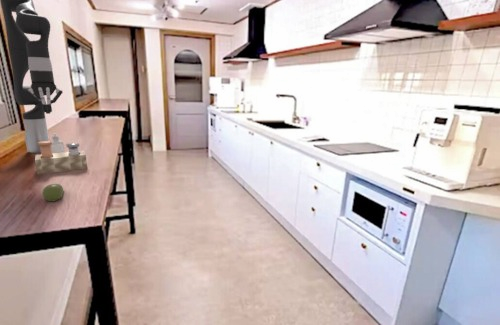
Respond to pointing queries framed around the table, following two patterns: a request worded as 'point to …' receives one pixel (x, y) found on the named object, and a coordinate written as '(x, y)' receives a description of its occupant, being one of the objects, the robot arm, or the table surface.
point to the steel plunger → (73, 148)
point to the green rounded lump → (53, 192)
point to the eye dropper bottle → (57, 145)
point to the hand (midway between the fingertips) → (48, 113)
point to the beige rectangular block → (60, 162)
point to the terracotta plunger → (45, 148)
